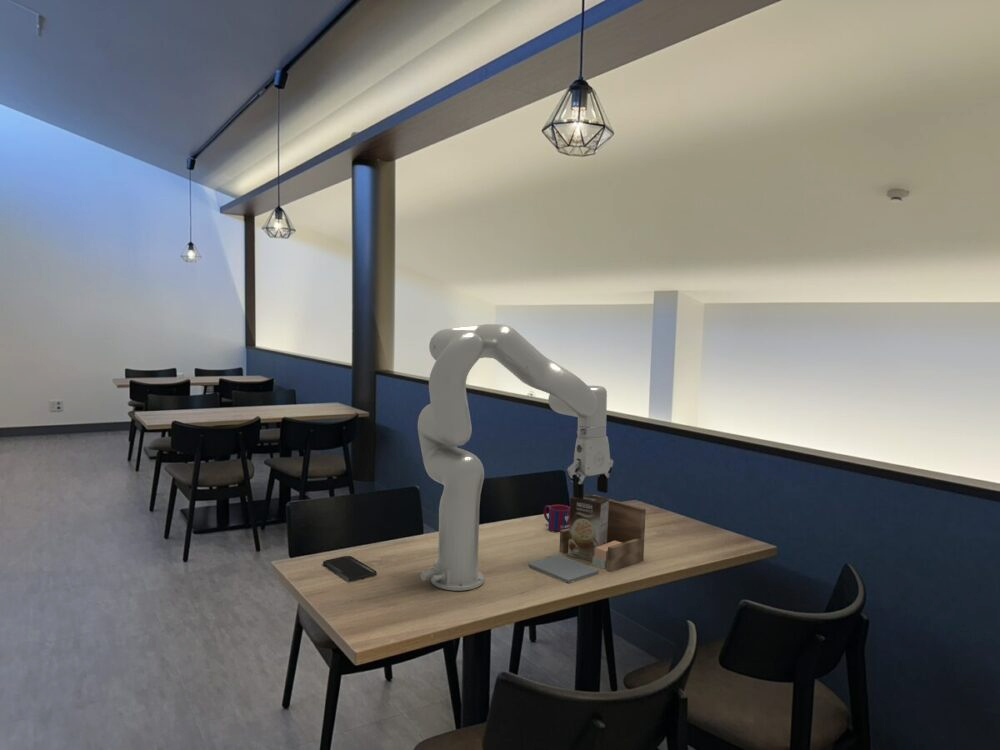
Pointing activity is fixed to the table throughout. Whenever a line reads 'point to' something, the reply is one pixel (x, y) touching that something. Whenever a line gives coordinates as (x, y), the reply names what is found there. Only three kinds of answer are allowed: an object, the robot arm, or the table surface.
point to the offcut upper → (604, 550)
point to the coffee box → (587, 525)
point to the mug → (557, 517)
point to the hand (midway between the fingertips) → (590, 494)
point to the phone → (349, 568)
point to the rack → (620, 535)
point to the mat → (563, 568)
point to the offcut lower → (599, 563)
